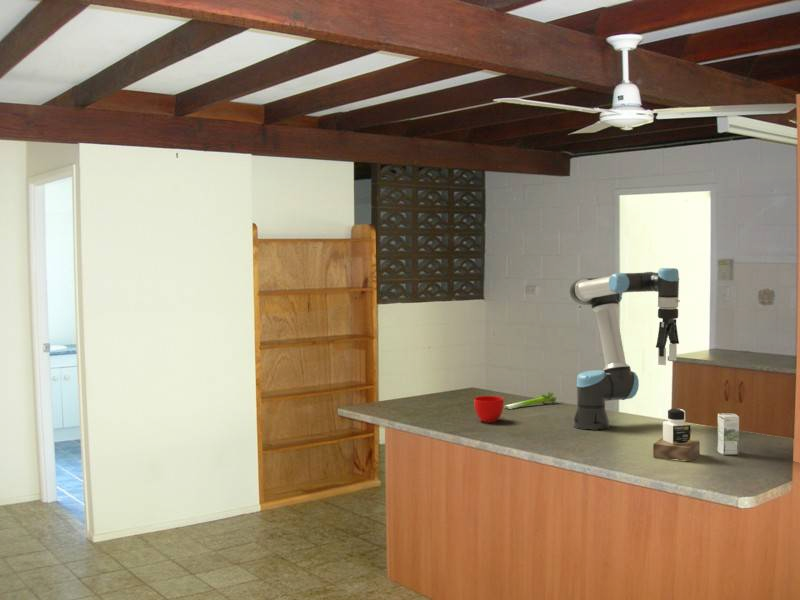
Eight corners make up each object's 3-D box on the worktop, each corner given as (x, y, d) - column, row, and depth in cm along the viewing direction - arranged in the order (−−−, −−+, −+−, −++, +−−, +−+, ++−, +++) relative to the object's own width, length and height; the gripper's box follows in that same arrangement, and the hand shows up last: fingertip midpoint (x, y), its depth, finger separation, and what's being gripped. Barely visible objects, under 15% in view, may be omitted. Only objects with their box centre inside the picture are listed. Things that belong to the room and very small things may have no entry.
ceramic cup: (503, 416, 386) (503, 394, 386) (504, 424, 370) (503, 401, 369) (474, 416, 388) (474, 394, 387) (474, 424, 371) (473, 401, 370)
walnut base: (653, 457, 308) (653, 443, 307) (663, 450, 319) (663, 436, 318) (689, 462, 301) (690, 448, 300) (699, 454, 311) (699, 440, 311)
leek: (501, 412, 406) (550, 401, 421) (510, 416, 400) (559, 405, 415) (501, 400, 405) (550, 389, 419) (510, 404, 399) (560, 393, 413)
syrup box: (732, 451, 315) (732, 412, 314) (739, 455, 309) (739, 415, 308) (716, 451, 315) (717, 412, 314) (723, 455, 309) (723, 416, 308)
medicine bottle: (673, 444, 305) (673, 411, 305) (662, 440, 312) (662, 408, 312) (690, 443, 307) (690, 410, 306) (679, 439, 314) (679, 407, 313)
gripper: (668, 311, 317) (667, 367, 319) (687, 306, 337) (686, 359, 339) (648, 310, 321) (647, 366, 323) (668, 305, 342) (667, 357, 343)
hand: (667, 362), depth 331 cm, fingers open, 13 cm apart
